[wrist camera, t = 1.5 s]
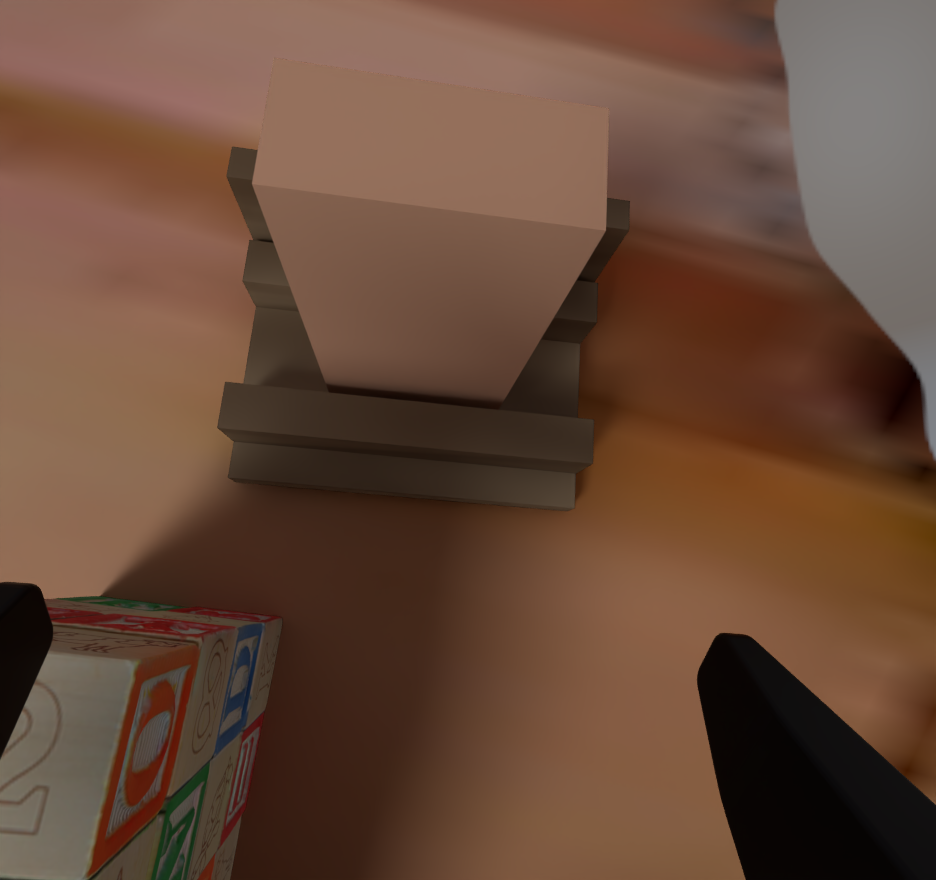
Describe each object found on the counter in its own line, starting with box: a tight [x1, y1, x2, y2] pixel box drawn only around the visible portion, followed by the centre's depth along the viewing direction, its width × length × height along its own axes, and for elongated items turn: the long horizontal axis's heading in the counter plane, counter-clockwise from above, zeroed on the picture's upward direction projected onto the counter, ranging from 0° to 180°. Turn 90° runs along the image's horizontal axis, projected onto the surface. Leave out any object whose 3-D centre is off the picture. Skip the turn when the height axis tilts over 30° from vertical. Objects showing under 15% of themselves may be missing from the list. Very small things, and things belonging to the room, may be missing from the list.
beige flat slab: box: [252, 58, 609, 410], centre depth 16 cm, size 2×6×12 cm, turn 85°
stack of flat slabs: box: [217, 147, 630, 511], centre depth 20 cm, size 9×12×6 cm
